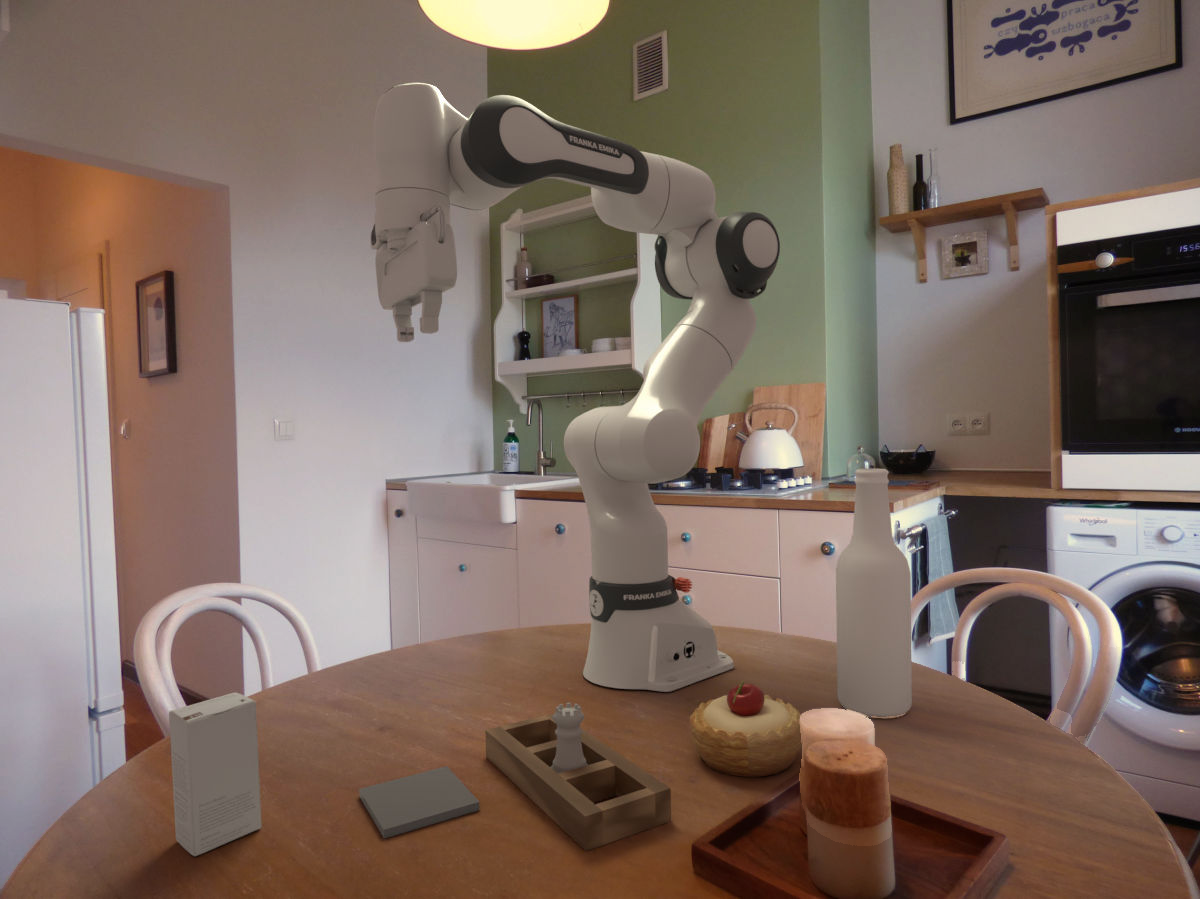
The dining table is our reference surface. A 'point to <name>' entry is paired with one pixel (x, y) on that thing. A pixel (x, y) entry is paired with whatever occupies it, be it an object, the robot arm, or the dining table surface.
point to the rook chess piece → (568, 738)
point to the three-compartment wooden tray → (579, 783)
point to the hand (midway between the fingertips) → (417, 337)
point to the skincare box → (215, 772)
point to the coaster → (417, 801)
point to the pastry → (746, 732)
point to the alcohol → (873, 608)
